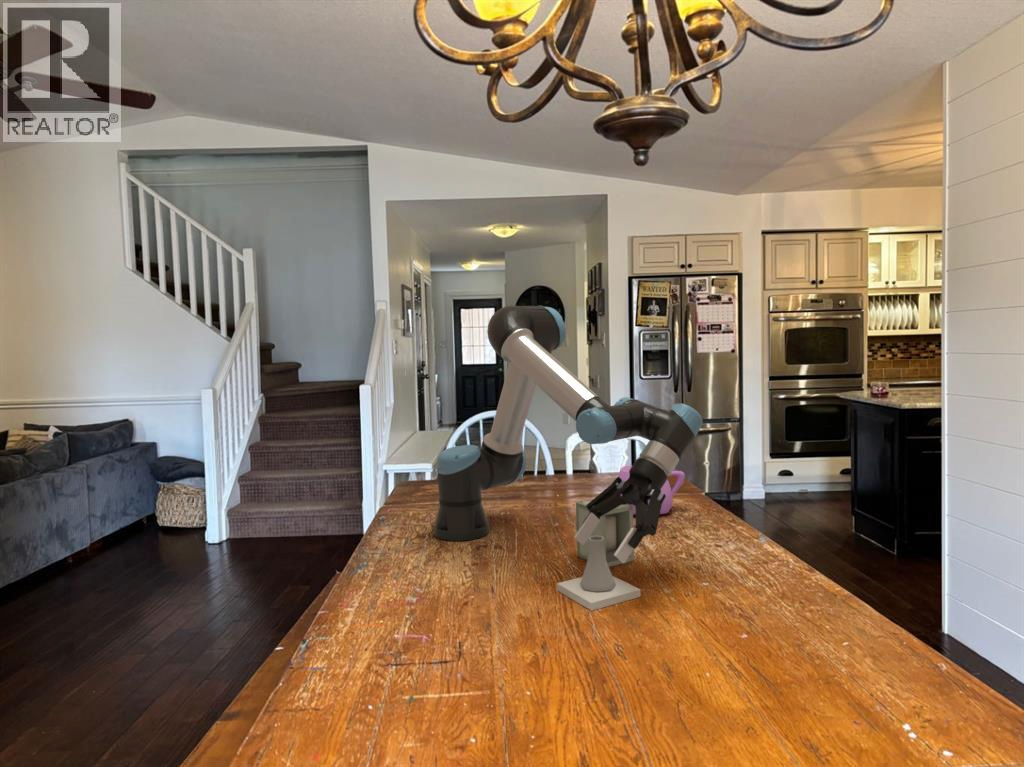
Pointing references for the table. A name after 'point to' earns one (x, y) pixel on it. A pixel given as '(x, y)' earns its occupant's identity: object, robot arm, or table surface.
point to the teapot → (665, 489)
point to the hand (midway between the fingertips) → (597, 550)
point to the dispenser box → (607, 531)
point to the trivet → (598, 593)
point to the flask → (597, 568)
